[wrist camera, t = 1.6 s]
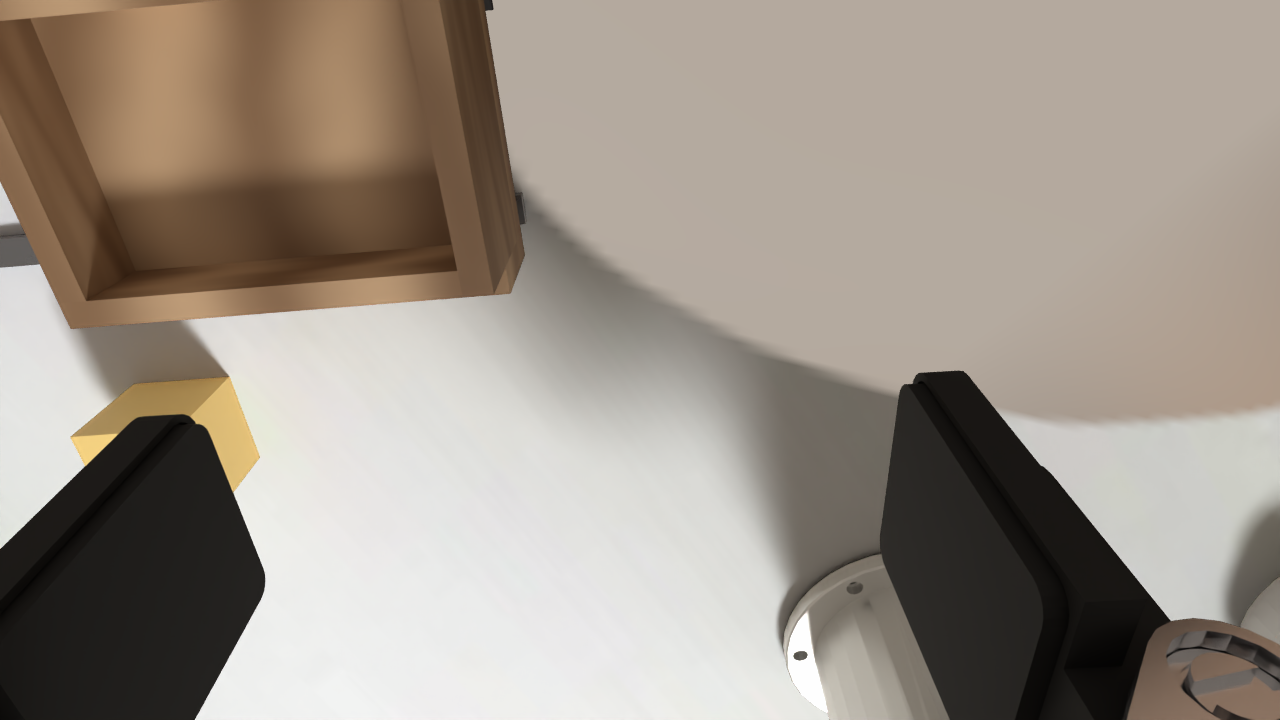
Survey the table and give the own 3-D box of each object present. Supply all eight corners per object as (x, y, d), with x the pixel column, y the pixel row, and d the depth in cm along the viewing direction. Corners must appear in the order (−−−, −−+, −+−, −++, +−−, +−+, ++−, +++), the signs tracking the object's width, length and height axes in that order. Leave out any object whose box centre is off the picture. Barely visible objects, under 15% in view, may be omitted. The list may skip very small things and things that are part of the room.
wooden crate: (480, -56, 26) (426, -65, 19) (528, 245, 31) (499, 323, 24) (34, -14, 27) (-173, -8, 20) (152, 276, 32) (20, 360, 25)
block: (230, 376, 35) (177, 429, 31) (260, 456, 37) (215, 516, 33) (135, 382, 35) (70, 437, 31) (170, 462, 37) (114, 522, 33)
